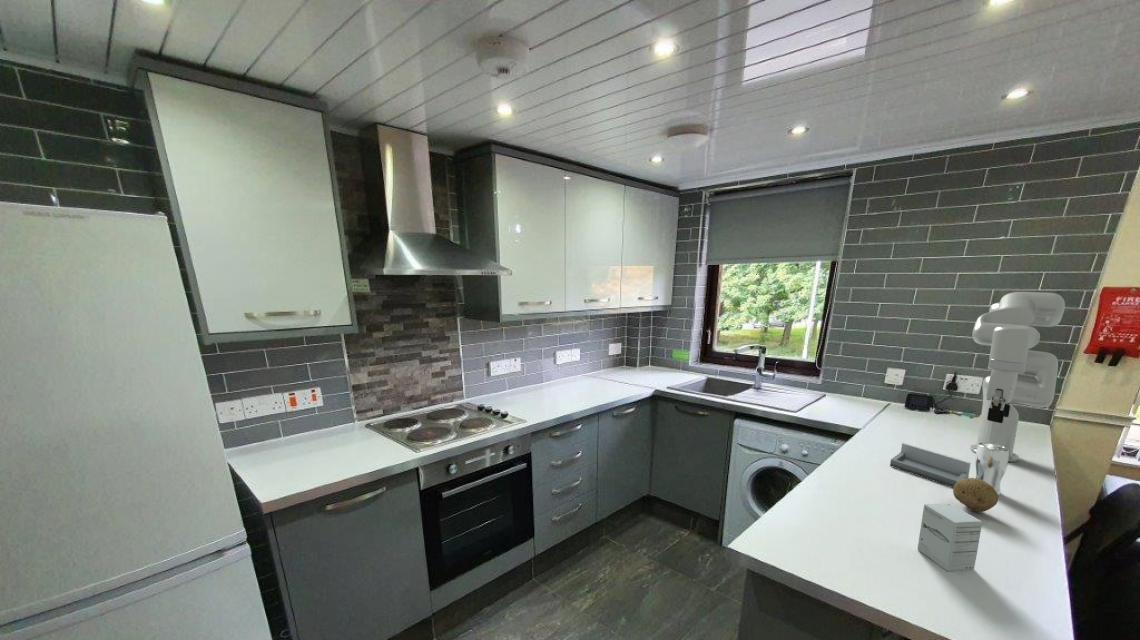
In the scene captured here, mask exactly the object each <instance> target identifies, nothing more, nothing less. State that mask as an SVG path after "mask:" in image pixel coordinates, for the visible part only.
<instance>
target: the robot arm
mask: <svg viewBox="0 0 1140 640" xmlns="http://www.w3.org/2000/svg"><path fill="white" fill-rule="evenodd" d="M1065 308H1066V302H1065V298H1063V296H1062V295H1060V294H1058V293H1054V292H1038V291H1037V292H1035V291H1033V292H1031V291H1013V292H1009V293H1007V294H1004V295H1003V296H1002V297H1001V299H1000V301H999V302H995V303H992V304H991V306H990V307H989V311H988V312H986V313H982V314H981V315H980V316H979V317H978V318H977V319H976V321H975V323H974V325H973V326H974V327H973V328H972V329H973V330H972V335H971V336H972V339H973V341H974V342H975V343H976V344H979V345H981V346H990V353H989V358H988V366H987V369H988V370H991V372H990V375H988V376H985V377H984V378H983V380H982V386H981V387H982V406H981V407H982V408H981V414H980V419H979V426H978V433H977V434H978V435H977V441H976V444H972V445H970V446H969V447H970V451H972V452H973V453H975V454H976V451H977V448H978V443H980V442H986V443H992V444H996V445H1000V446H1003V447H1005V448H1007V449H1008V450H1009V458H1008V463H1009V462H1010V463H1015V462H1018V461H1019V458H1020V457H1019V456H1018V455H1017V454H1015V453H1014V448H1015V441H1016V436H1017V431H1018V430H1017V429H1018V424H1019V419H1020V415H1019V412H1018V410H1017V409H1016V408H1015V407H1014V406H1013V405H1012V404H1011V403H1015V404H1020V405H1027V406H1032V407H1037V408H1048V407H1050V406H1051V405H1052V404H1053V402H1054V400H1055V392H1056V387H1057V386H1056V385H1057V378H1058V371H1059V360H1058V357H1057V356H1056V355H1054V354H1053V353H1050V352H1047V351H1039V350H1031V349H1033V348H1034V347H1035V346H1037V345H1039V343H1040V340H1041V333H1040V332H1039V331H1038V330H1037V329H1036V327H1044V328H1046V327H1047V328H1050V327H1051V328H1052V327H1055V326H1057V325H1058V324H1060V323H1061V321H1062V319H1063V316H1064V313H1065ZM1019 375H1021V376H1027V377H1033V378H1035V379H1029V378H1024V377H1023V378H1021V377H1019Z"/></svg>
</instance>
